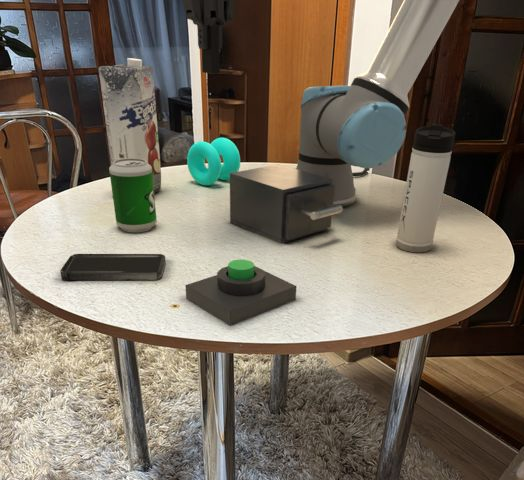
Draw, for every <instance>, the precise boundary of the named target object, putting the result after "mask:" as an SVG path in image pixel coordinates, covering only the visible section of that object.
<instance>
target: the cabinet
mask: <svg viewBox="0 0 524 480" xmlns="http://www.w3.org/2000/svg"><path fill="white" fill-rule="evenodd" d="M326 185H332V179H330V178H326V177H323V176H319V175H315V174H312V173H308V172H304V171H301V170H297V169H296V168H293V167H289V166H286V165H282V164H274V165H267V166H262V167H257V168H251V169H245V170H239V171H238V172H233V173H230V180H229V223H230V224H232V225H235V226H237V227H238V228H242V229H244V230H246V231H249V232H252V233H254V234H256V235H258V236H261V237H264V238H266V239H268V240H271V241H273V242H276V243H278V244H284V243H288V242H291V241H294V240H298V239H300V238H301V239H302V238H304V237H307V236H310V235H315V234H318V233H321V232H324V231H327V230H328V229H329V228H327V229H323V230H320V231H317V232H313V233H310V234H307V235H303V236H300V237H297V238H293V239H290V240H286V239H284V238H283V237H284V216H285V196H286V194H287V193H292V192H296V191H300V190H305V189H309V188H314V187H318V186H326Z"/></svg>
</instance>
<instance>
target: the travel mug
mask: <svg viewBox="0 0 524 480" xmlns="http://www.w3.org/2000/svg"><path fill="white" fill-rule="evenodd" d="M455 137H456V131H455V130H453V129H452V128H449V127H445V126H443V124H434V123H432V124H431V125H428V126H421V127H418V128H416V130H415V133H414V138H413V139H414V140H413V144H412V147H411V148H412V149H411V150H412V152H411V154H410V158H409V159H410V160H409V165H408V171H407V176H406V183H405V189H404V195H403V199H402V204H401V205H402V206H401V210H400V211H401V212H400V218H399V223H398V230H397V235H396V241H395V245H396V247H397V248H399V250H400V249H401V250H402V251H405V252H409V253H410V252H411V253H426V252H429V251H430V250H432V246H433V243H434V241H433V240H434V237H435V232H436V230H437V229H436V228H437V224H438V219H439V214H440V210H441V205H442V200H443V196H444V191H445V186H446V181H447V177H448V172H449V168H450V164H451V157H452V153H453V146H454V141H455Z"/></svg>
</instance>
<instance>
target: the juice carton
mask: <svg viewBox="0 0 524 480" xmlns="http://www.w3.org/2000/svg"><path fill="white" fill-rule="evenodd" d="M126 62H127V63H126V64H123V63H119V64H115V65H102V66H99V67H98V75H99V80H100V81H99V83H100V89H101V91H100V92H101V97H102V99H101V100H102V105H103V114H104V121H105V129H106V136H107V137H106V138H107V145H108V152H109V160H110V166H111V165H112V164H113V162H114V161H115V160H119V159H126V158H137V159H143V160H146V161H147V163H148V164H149V165H150V166H151V167H152V174H153V186H154V194H156V193H158V192H160V190H161V189H162V167H161V153H160V143H159V130H158V118H157V105H156V103H157V102H156V91H155V82H154V72H153V66H151V65H149V64H148V65H145V64H143V60H142V59H139V58H133V57H127V59H126Z"/></svg>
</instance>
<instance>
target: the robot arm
mask: <svg viewBox="0 0 524 480" xmlns="http://www.w3.org/2000/svg"><path fill="white" fill-rule="evenodd" d="M181 2H182V6H183V10H184V14H185V15H184V16H185V18H186V19H187V20H190V21H192V24H193V25H195V26H196V28H197V29H196V30H197V46H198V49H199V50H201V70H202V73H204V74H214V75H215V74H220V72H221V71H220V70H221V69H220V68H221V67H220V65H221V64H220V50H222V48H223V26H224V27H225V26H226V25H227V24H228V22H230V21H232V20H233V19H234V13H235V5H236V0H181ZM459 2H460V0H403V1H402V4H401V5H400V7H399V9H398V11H397V13H396V15H395V16H394V19H393V21H392V23H391V25H390V27H389V28H388V30H387V32H386V34H385V36H384V38H383V40H382V42H381V44H380V46H379V47H378V50H377V52H376V54H375V55H374V57H373V60H372V62H371V63H370V65H369V67H368V69H367V70H366V71H365V72H363V73H361V74H358V75H356V76H355V77H354V78H353V80H352V82H351V84H350V85H323V86H322V85H321V86H310V87H307V88H306V89H305V90H304V91H303V93H302V98H301V104H300V126H299V141H298V142H299V143H298V158H297V159H298V161H297V165H296V168H295V169H297V170H301V171H304V172H308V173H312V174H315V175H319V176H323V177H326V178H330V179H332V185H333V186H335V189H334V199H333V205H334V206H336V205H341V206H342V208H344V207H347V206H350V205H352V204H354V203H355V202H356V196H357V193H356V192H357V191H356V187H355V182H354V177H361V176H364V175H365V174H367V172H370V169H375V168H378V167H381V166H383V165H385V164H387V163H388V162H390V161H391V160H392V159H393V158H394V157H395V156H396V155H397V153H398V152H399V151H400V149H401V147H402V146H403V144H404V141H405V138H406V132H407V130H406V126H407V122H406V118H405V117H406V115H407V113H408V111H409V109H410V101H409V97H408V95H409V92H410V90H411V89H412V87H413V85H414V83H415V82H416V79H417V78H418V76H419V74H420V73H421V71H422V69H423V67H424V65H425V63H426V62H427V60H428V58H429V56H430V55H431V53H432V51H433V49H434V47H435V45H436V44H437V41H438V40H439V38H440V37H441V35H442V32H443V31H444V29H445V27H446V25H447V24H448V22H449V20H450V18H451V16H452V14H453V13H454V12H455V9H456V7H457V5H458V3H459ZM352 166H353V167H356V168H362V169H363V170H362V171H357V172H353V169H352Z"/></svg>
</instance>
